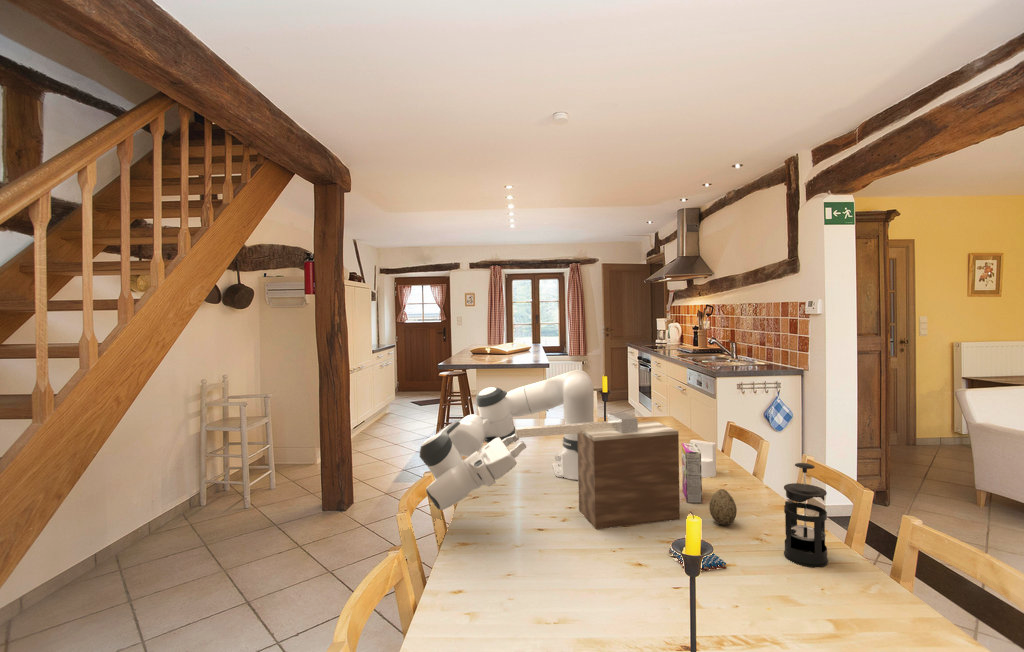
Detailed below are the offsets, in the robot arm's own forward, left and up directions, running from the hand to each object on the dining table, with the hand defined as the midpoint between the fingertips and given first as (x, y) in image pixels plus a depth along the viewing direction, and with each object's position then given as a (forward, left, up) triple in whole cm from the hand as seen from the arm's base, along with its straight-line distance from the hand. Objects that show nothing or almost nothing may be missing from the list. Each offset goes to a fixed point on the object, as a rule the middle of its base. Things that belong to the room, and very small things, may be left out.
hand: (521, 439), depth 144 cm
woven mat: (+30, +36, -26) cm, 54 cm away
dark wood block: (0, +32, -25) cm, 41 cm away
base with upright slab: (-28, +75, -25) cm, 84 cm away
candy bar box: (-8, +58, -25) cm, 64 cm away
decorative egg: (+13, +55, -25) cm, 62 cm away
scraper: (0, +16, +1) cm, 16 cm away
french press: (+35, +62, -25) cm, 76 cm away
